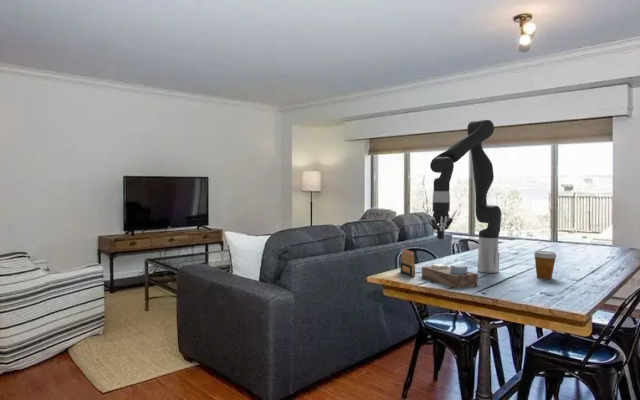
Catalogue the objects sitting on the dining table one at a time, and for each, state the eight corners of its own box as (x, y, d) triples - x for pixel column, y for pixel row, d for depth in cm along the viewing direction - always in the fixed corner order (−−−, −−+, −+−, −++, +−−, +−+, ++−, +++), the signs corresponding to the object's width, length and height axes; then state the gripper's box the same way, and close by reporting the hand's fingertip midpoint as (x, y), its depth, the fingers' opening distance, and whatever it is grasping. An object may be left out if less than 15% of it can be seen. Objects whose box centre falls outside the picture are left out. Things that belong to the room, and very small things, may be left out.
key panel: (441, 275, 207) (442, 264, 207) (477, 285, 188) (477, 274, 187) (421, 277, 202) (422, 266, 202) (456, 288, 182) (456, 276, 182)
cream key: (439, 272, 203) (440, 263, 203) (447, 274, 199) (447, 265, 199) (431, 273, 201) (432, 264, 201) (439, 275, 197) (439, 266, 196)
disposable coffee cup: (554, 276, 208) (555, 251, 207) (556, 280, 199) (557, 254, 199) (532, 274, 212) (533, 250, 211) (533, 278, 203) (534, 252, 203)
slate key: (458, 273, 192) (459, 264, 192) (467, 275, 188) (467, 266, 188) (450, 274, 190) (450, 265, 190) (458, 276, 186) (458, 267, 186)
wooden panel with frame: (414, 276, 203) (415, 251, 203) (411, 277, 203) (412, 251, 202) (403, 272, 213) (404, 247, 213) (400, 272, 213) (400, 247, 212)
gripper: (446, 200, 205) (445, 237, 206) (424, 201, 199) (423, 238, 200) (458, 201, 198) (457, 239, 199) (435, 201, 192) (434, 241, 193)
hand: (440, 239), depth 199 cm, fingers closed
